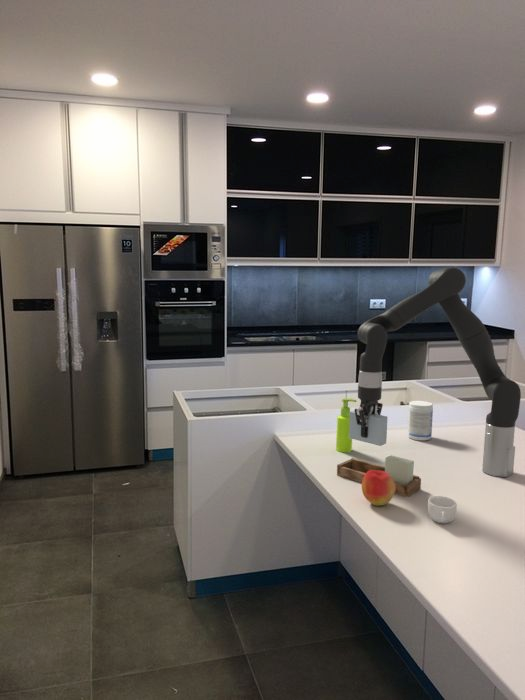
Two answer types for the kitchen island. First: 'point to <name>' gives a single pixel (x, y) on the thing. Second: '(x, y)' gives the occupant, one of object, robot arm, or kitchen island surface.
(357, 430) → the blue-grey rectangular block
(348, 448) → the soap dispenser
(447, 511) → the teacup
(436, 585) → the kitchen island surface
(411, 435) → the supplement tub
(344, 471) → the wooden tray
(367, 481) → the apple
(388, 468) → the seated panel
